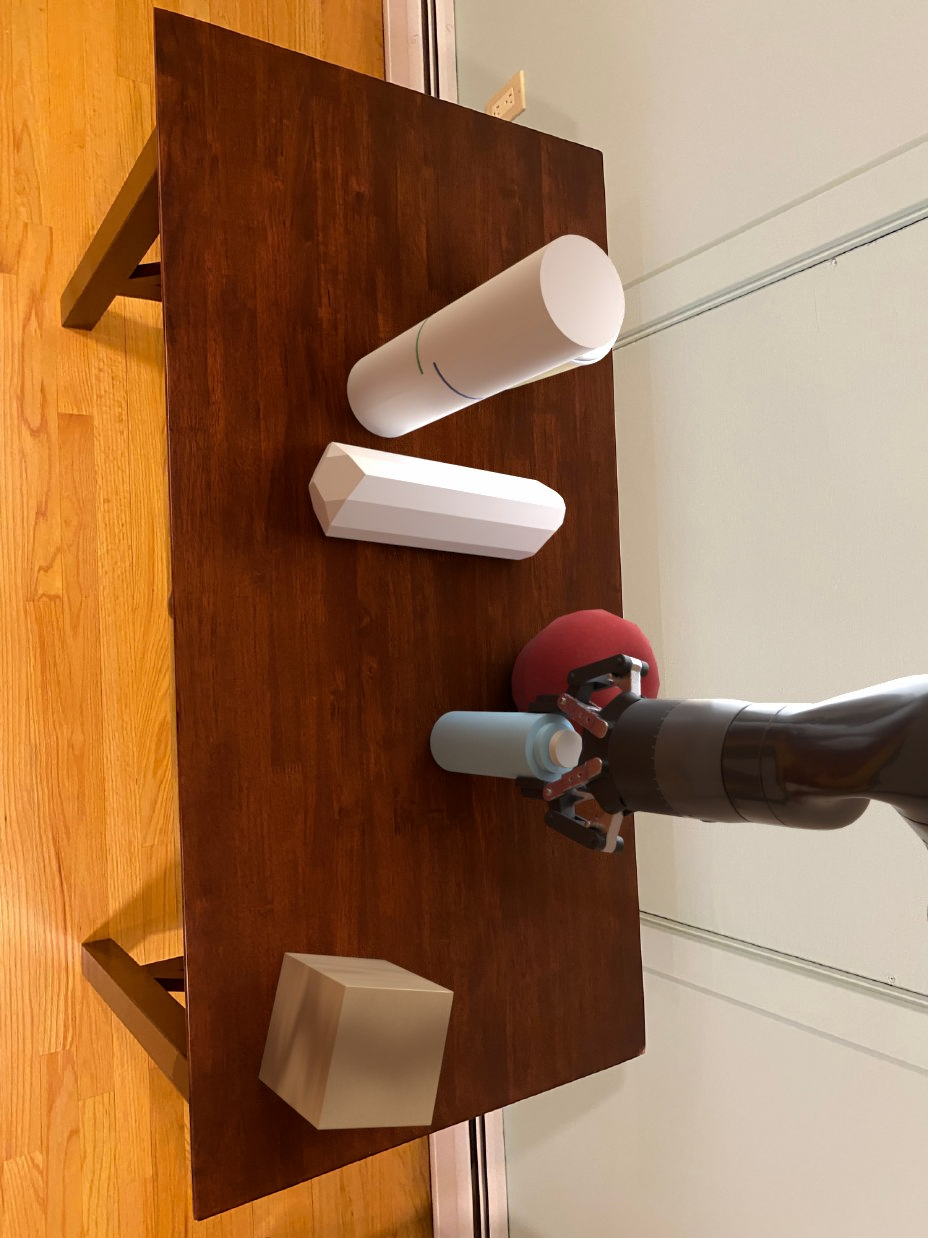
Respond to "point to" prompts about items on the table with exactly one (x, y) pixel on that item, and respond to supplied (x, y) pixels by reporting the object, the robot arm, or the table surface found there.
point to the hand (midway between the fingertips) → (530, 746)
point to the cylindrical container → (492, 338)
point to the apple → (579, 657)
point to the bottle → (506, 744)
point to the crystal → (431, 504)
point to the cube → (356, 1042)
